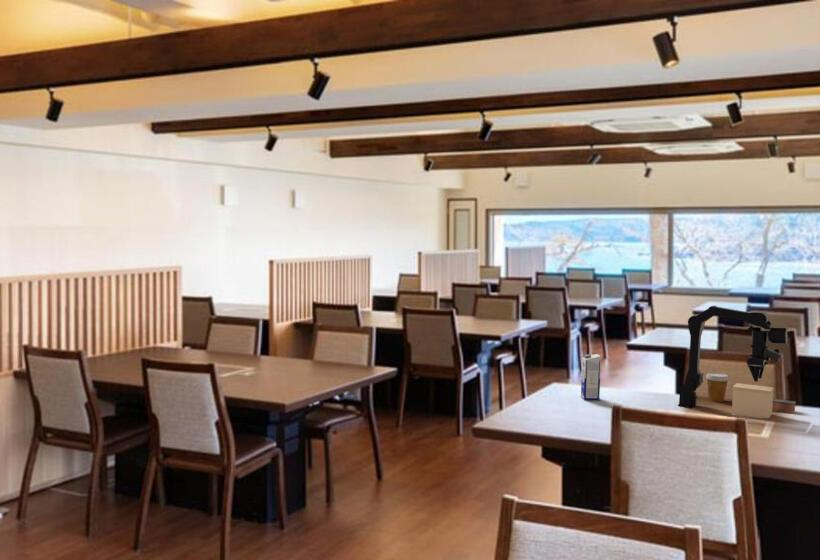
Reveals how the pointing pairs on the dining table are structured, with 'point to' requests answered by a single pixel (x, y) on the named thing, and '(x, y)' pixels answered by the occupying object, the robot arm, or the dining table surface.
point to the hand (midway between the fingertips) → (758, 379)
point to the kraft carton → (752, 400)
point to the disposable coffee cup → (716, 386)
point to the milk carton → (590, 377)
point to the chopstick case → (783, 406)
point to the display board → (747, 416)
